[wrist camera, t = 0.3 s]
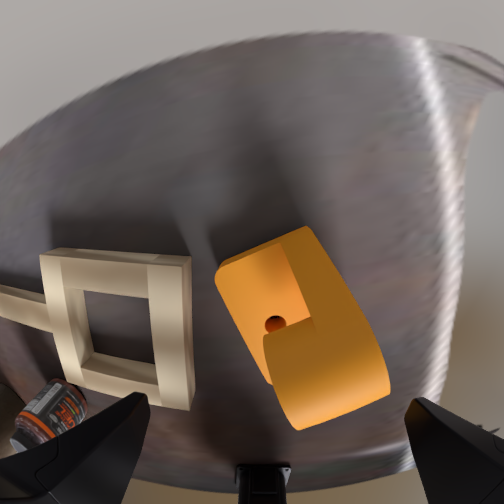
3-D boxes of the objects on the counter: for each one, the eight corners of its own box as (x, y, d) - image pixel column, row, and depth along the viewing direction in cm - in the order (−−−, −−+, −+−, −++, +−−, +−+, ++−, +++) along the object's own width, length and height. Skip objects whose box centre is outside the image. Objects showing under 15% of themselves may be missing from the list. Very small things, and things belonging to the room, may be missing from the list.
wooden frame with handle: (195, 390, 24) (189, 410, 21) (12, 343, 24) (-1, 353, 22) (191, 256, 21) (181, 266, 18) (-8, 241, 22) (-26, 247, 19)
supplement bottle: (98, 413, 26) (58, 478, 15) (68, 413, 26) (28, 468, 15) (71, 374, 25) (19, 436, 14) (43, 376, 25) (-6, 428, 14)
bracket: (215, 262, 22) (170, 342, 10) (304, 223, 21) (359, 267, 9) (269, 370, 24) (275, 482, 12) (346, 339, 23) (399, 439, 11)
